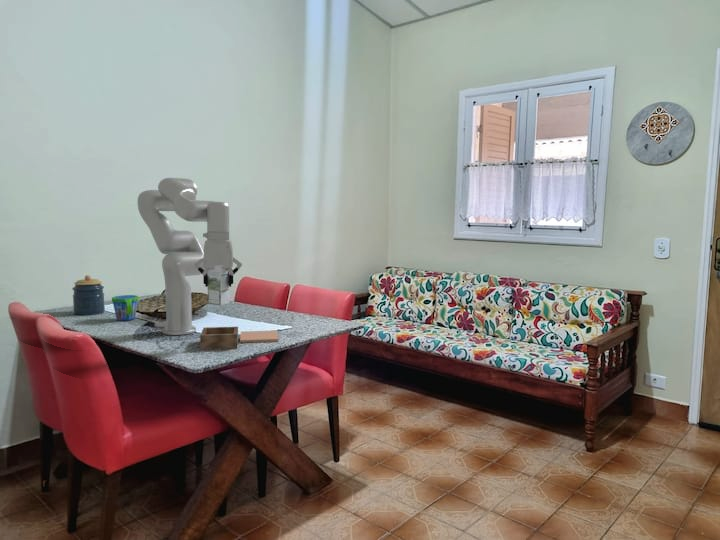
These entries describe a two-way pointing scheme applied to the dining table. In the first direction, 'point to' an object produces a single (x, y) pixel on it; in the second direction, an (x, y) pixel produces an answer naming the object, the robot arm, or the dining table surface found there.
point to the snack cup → (125, 307)
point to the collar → (219, 338)
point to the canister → (88, 297)
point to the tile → (259, 336)
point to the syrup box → (218, 286)
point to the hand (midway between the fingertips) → (218, 285)
